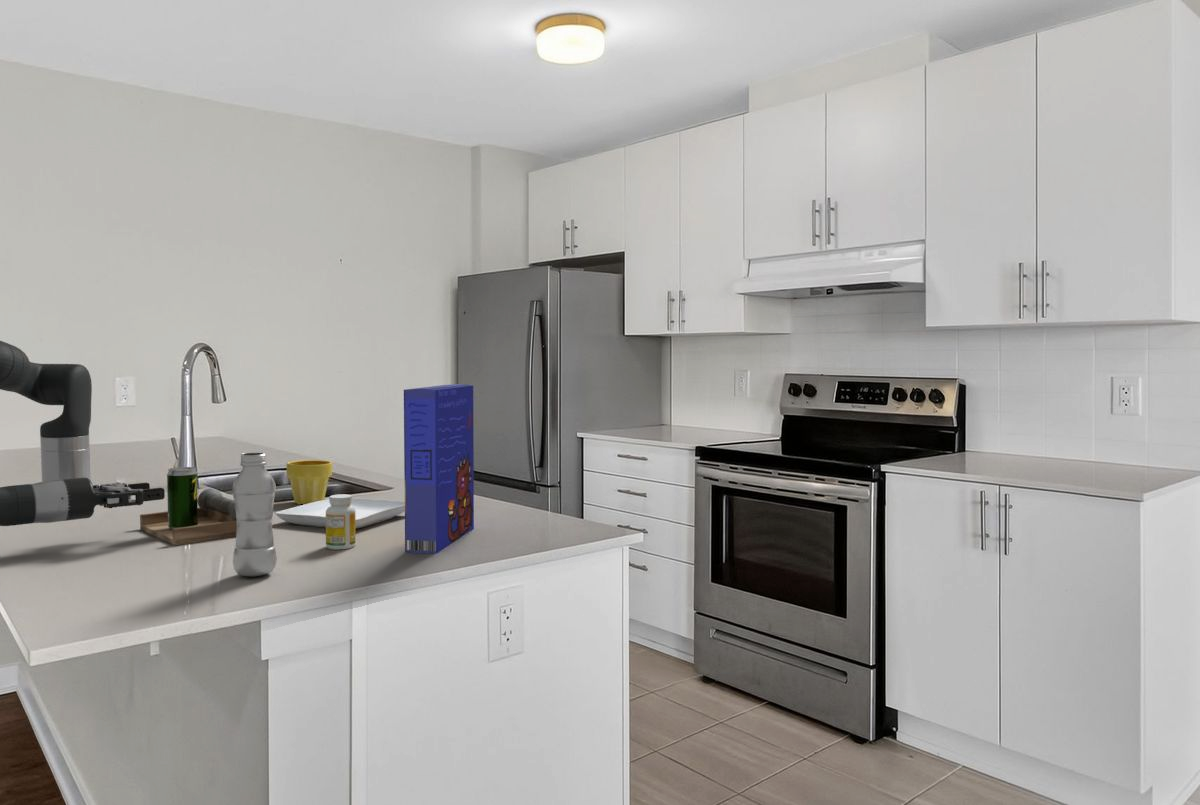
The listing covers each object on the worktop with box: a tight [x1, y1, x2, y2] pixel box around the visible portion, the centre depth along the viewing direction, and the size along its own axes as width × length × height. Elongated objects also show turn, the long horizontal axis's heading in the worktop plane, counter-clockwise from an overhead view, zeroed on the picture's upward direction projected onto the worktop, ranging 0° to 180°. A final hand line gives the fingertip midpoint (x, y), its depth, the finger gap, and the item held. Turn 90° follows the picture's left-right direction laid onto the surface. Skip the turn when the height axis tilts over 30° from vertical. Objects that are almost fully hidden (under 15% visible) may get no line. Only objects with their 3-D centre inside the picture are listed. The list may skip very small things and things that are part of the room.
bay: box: [139, 487, 237, 546], centre depth 172 cm, size 20×16×7 cm
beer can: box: [166, 466, 199, 530], centre depth 170 cm, size 5×5×12 cm
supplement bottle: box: [325, 493, 357, 551], centre depth 159 cm, size 5×5×10 cm
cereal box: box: [403, 383, 475, 555], centre depth 165 cm, size 22×6×30 cm, turn 170°
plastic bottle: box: [231, 452, 278, 578], centre depth 139 cm, size 6×7×20 cm
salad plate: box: [275, 497, 405, 530], centre depth 184 cm, size 21×21×3 cm
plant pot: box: [286, 459, 333, 505], centre depth 205 cm, size 10×10×10 cm
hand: (156, 490), depth 166 cm, fingers open, 8 cm apart
